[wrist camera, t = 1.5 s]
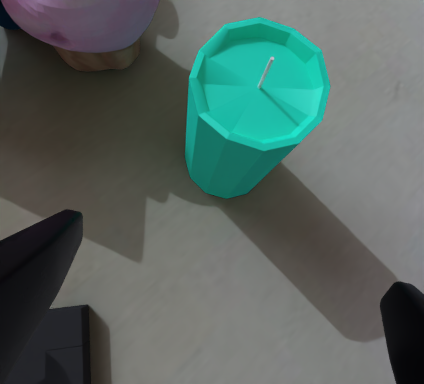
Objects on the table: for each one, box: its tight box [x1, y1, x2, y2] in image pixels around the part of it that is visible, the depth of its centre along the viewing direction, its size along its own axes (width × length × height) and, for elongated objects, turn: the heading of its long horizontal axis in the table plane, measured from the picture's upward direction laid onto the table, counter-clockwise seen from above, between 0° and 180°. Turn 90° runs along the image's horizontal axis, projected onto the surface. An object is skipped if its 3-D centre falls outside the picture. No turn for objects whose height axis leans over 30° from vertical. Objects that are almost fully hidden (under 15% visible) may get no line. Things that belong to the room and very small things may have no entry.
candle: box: [185, 17, 330, 199], centre depth 18 cm, size 6×6×12 cm
